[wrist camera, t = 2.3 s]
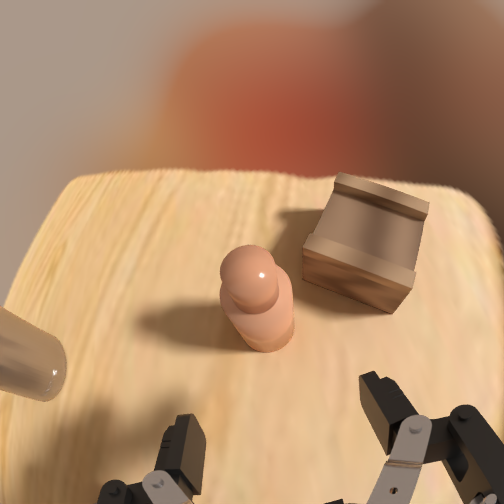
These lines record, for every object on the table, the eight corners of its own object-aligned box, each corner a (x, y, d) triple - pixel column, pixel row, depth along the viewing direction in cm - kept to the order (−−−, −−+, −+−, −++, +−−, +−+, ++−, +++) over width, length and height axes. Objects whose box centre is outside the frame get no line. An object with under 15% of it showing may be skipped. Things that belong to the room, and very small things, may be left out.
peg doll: (231, 338, 28) (190, 287, 18) (256, 294, 30) (232, 223, 20) (279, 361, 26) (265, 323, 16) (303, 313, 28) (304, 249, 18)
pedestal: (302, 279, 30) (302, 247, 25) (335, 209, 34) (339, 171, 29) (392, 314, 27) (412, 288, 21) (413, 237, 31) (429, 202, 25)
